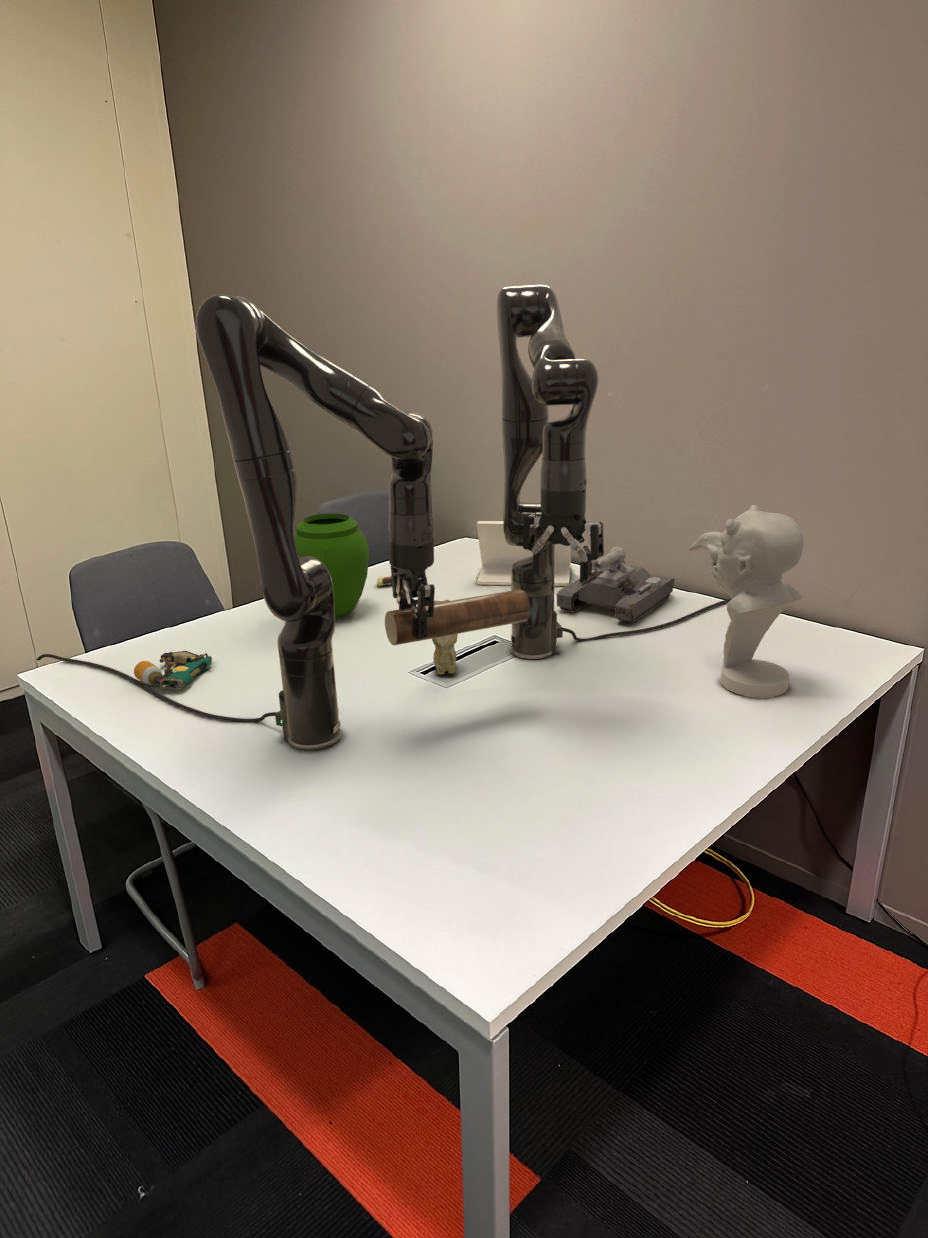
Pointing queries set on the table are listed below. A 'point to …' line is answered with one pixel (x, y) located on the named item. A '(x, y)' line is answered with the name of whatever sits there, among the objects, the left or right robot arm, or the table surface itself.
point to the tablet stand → (512, 556)
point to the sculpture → (445, 652)
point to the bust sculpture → (753, 593)
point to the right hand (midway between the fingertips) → (562, 577)
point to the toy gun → (384, 580)
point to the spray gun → (172, 669)
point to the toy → (617, 588)
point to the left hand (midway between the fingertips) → (413, 630)
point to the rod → (460, 616)
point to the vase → (337, 555)
